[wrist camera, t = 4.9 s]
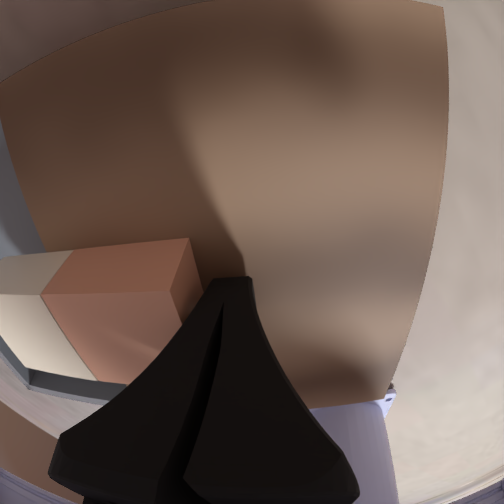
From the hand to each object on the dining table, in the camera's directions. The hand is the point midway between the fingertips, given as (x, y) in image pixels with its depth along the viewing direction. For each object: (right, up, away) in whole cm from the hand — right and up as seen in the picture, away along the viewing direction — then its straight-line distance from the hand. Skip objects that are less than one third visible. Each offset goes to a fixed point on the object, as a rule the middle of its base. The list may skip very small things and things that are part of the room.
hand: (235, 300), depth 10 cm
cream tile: (-8, 0, +1) cm, 8 cm away
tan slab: (0, +2, +3) cm, 4 cm away
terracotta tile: (-3, 0, +1) cm, 3 cm away
